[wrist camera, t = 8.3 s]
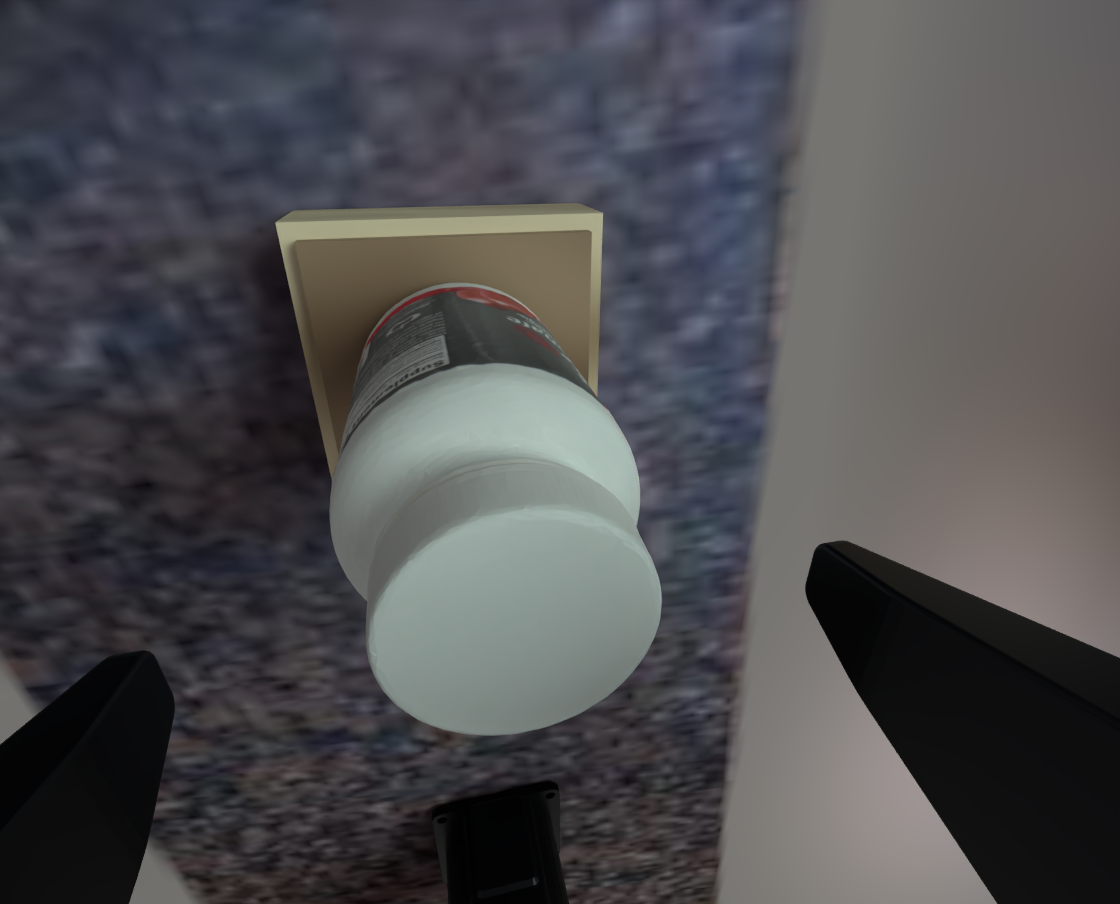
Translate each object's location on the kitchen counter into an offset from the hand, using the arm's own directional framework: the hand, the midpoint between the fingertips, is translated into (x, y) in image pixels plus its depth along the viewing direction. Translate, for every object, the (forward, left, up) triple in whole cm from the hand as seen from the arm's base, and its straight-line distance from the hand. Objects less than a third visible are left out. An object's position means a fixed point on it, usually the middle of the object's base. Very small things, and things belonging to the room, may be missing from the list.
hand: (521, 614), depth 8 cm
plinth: (0, 0, -12) cm, 12 cm away
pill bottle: (0, 0, -10) cm, 10 cm away
